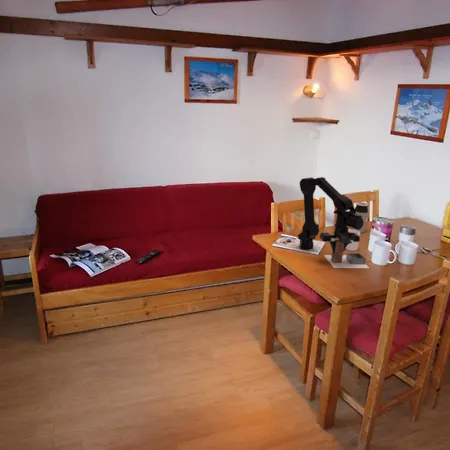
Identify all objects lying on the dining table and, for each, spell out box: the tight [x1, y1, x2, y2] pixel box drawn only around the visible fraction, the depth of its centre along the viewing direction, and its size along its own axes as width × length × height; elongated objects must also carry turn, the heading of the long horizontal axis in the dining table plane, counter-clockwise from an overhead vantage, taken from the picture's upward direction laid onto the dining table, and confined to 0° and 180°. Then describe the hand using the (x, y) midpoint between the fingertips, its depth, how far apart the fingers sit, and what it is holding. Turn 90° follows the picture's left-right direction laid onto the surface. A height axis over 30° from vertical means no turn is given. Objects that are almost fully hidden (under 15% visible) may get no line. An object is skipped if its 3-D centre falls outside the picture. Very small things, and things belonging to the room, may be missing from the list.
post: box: [331, 239, 345, 263], centre depth 204 cm, size 4×4×11 cm
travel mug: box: [351, 201, 369, 234], centre depth 253 cm, size 8×8×18 cm
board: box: [323, 254, 370, 269], centre depth 206 cm, size 18×16×1 cm
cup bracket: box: [345, 252, 367, 264], centre depth 206 cm, size 7×7×3 cm
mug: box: [345, 229, 361, 252], centre depth 222 cm, size 12×8×10 cm
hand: (337, 253), depth 204 cm, fingers closed on post, 4 cm apart
